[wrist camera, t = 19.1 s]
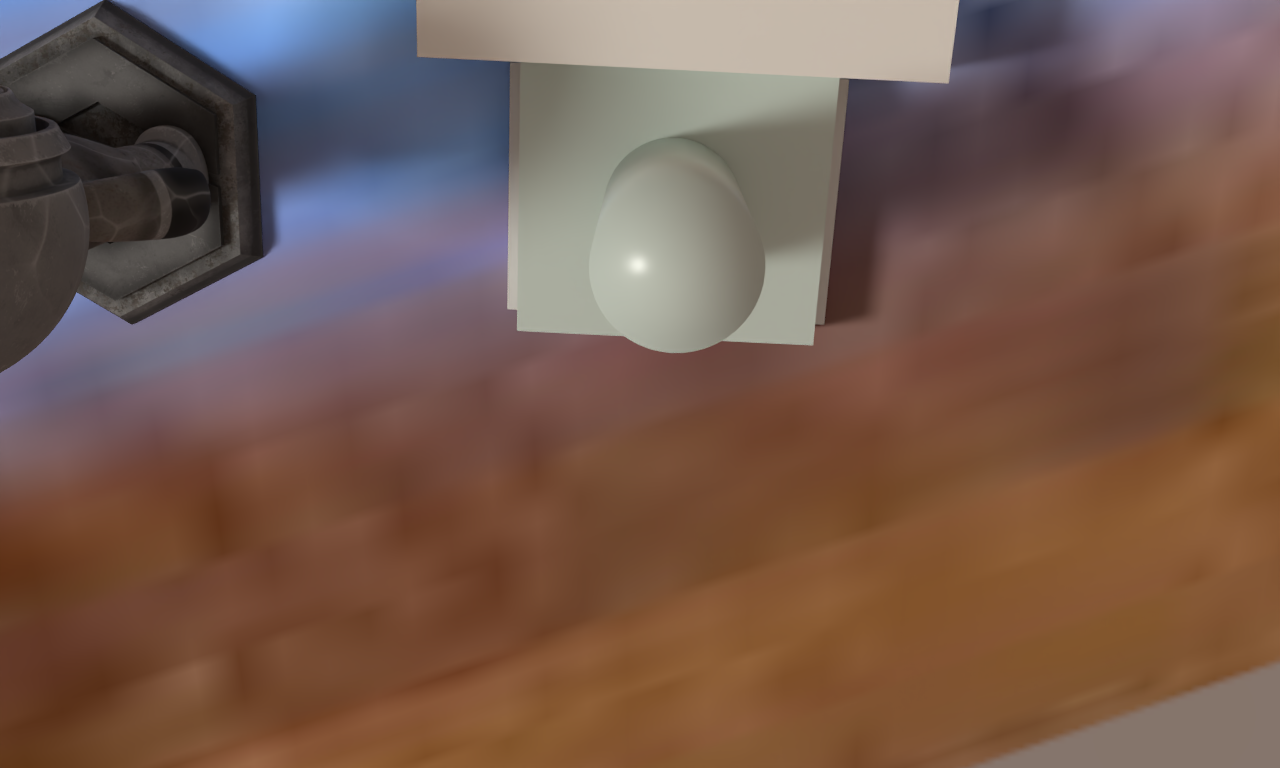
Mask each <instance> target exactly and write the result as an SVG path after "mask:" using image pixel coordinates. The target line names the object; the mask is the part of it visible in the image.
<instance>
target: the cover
mask: <svg viewBox="0 0 1280 768" xmlns="http://www.w3.org/2000/svg"><path fill="white" fill-rule="evenodd" d="M839 80H840V78H831V77H811V76H791V75H770V74H750V73H730V72H710V71H690V70H670V69H650V68H630V67H610V66H590V65H570V64H550V63H530V62H521V67H520V142H519V218H518V293H517V331H531V332H552V333H572V334H592V335H612V336H625V337H626V338H628V339H629V340H631V341H633V342H635V343H637V344H639V345H641V346H643V347H646V348H649V349H652V350H656V351H660V352H668V353H685V352H692V351H697V350H701V349H705V348H707V347H710V346H712V345H715V344H717V343H719V342H720V341H734V342H755V343H775V344H795V345H813V340H814V330H815V320H816V310H817V300H818V290H819V280H820V270H821V260H822V250H823V240H824V230H825V220H826V210H827V200H828V190H829V180H830V170H831V160H832V150H833V140H834V130H835V120H836V110H837V100H838V90H839Z"/></svg>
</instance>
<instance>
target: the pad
mask: <svg viewBox="0 0 1280 768" xmlns="http://www.w3.org/2000/svg"><path fill="white" fill-rule="evenodd" d="M520 67H521V63H518V62H511V63H510V115H509V210H508V304H507V309H515V310H517V293H518V218H519V142H520ZM848 87H849V79H840V80H839V90H838V100H837V110H836V120H835V130H834V140H833V150H832V160H831V170H830V180H829V190H828V200H827V210H826V220H825V230H824V240H823V250H822V260H821V270H820V280H819V290H818V300H817V310H816V320H815V324H819V325H824V321H825V312H826V302H827V292H828V282H829V273H830V263H831V253H832V243H833V234H834V224H835V214H836V204H837V195H838V185H839V175H840V165H841V156H842V146H843V136H844V126H845V117H846V107H847V97H848Z"/></svg>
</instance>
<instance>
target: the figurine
mask: <svg viewBox="0 0 1280 768" xmlns="http://www.w3.org/2000/svg"><path fill="white" fill-rule="evenodd" d="M262 257H263V247H262V225H261V202H260V180H259V158H258V136H257V113H256V95H254V94H253V93H251V92H250V91H248V90H247V89H245V88H243V87H242V86H240V85H239V84H237V83H236V82H234V81H232V80H231V79H229V78H228V77H226V76H225V75H223V74H221V73H220V72H218V71H217V70H215V69H214V68H212V67H211V66H209V65H207V64H206V63H204V62H203V61H201V60H200V59H198V58H196V57H195V56H193V55H192V54H190V53H189V52H187V51H185V50H184V49H182V48H181V47H179V46H178V45H176V44H175V43H173V42H171V41H170V40H168V39H167V38H165V37H164V36H162V35H160V34H159V33H157V32H156V31H154V30H153V29H151V28H149V27H148V26H146V25H145V24H143V23H142V22H140V21H139V20H137V19H135V18H134V17H132V16H131V15H129V14H128V13H126V12H124V11H123V10H121V9H120V8H118V7H117V6H115V5H113V4H112V3H110V2H109V1H107V0H103V1H101V2H99V3H98V4H96V5H94V6H92V7H91V8H89V9H87V10H85V11H84V12H82V13H80V14H78V15H77V16H75V17H73V18H71V19H70V20H68V21H66V22H64V23H63V24H61V25H59V26H57V27H56V28H54V29H52V30H50V31H49V32H47V33H45V34H43V35H42V36H40V37H38V38H36V39H35V40H33V41H31V42H29V43H28V44H26V45H24V46H22V47H21V48H19V49H17V50H15V51H14V52H12V53H10V54H8V55H7V56H5V57H3V58H1V59H0V373H1V372H2V371H4V370H6V369H7V368H9V367H11V366H12V365H14V364H15V363H17V362H18V361H20V360H21V359H22V358H24V357H25V356H26V355H28V354H29V353H30V352H31V351H32V350H33V349H35V348H36V347H37V346H38V345H39V344H40V343H41V342H42V341H43V340H44V339H45V338H46V337H47V336H48V335H49V334H50V333H51V331H52V330H53V329H54V328H55V326H56V325H57V324H58V323H59V321H60V320H61V318H62V317H63V315H64V314H65V312H66V311H67V309H68V307H69V306H70V304H71V302H72V300H73V298H74V296H75V294H76V292H77V293H79V294H81V295H82V296H84V297H86V298H88V299H89V300H91V301H93V302H94V303H96V304H98V305H99V306H101V307H103V308H105V309H106V310H108V311H110V312H111V313H113V314H115V315H116V316H118V317H120V318H121V319H123V320H125V321H127V322H128V323H130V324H134V323H136V322H138V321H140V320H142V319H144V318H146V317H148V316H150V315H152V314H154V313H156V312H157V311H159V310H161V309H163V308H165V307H167V306H169V305H171V304H173V303H175V302H177V301H179V300H181V299H183V298H185V297H187V296H188V295H190V294H192V293H194V292H196V291H198V290H200V289H202V288H204V287H206V286H208V285H210V284H212V283H214V282H216V281H218V280H219V279H221V278H223V277H225V276H227V275H229V274H231V273H233V272H235V271H237V270H239V269H241V268H243V267H245V266H247V265H249V264H250V263H252V262H254V261H256V260H258V259H260V258H262Z"/></svg>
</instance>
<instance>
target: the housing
mask: <svg viewBox="0 0 1280 768" xmlns="http://www.w3.org/2000/svg"><path fill="white" fill-rule="evenodd" d="M958 6H959V0H416V9H417V57H429V58H449V59H469V60H489V61H510V62H530V63H550V64H570V65H590V66H610V67H630V68H650V69H670V70H690V71H710V72H730V73H750V74H770V75H791V76H811V77H831V78H851V79H871V80H891V81H911V82H931V83H949V75H950V68H951V60H952V52H953V45H954V37H955V29H956V21H957V14H958Z"/></svg>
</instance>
